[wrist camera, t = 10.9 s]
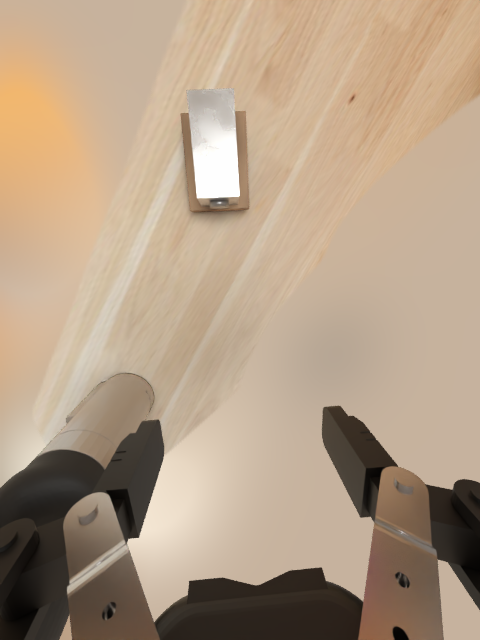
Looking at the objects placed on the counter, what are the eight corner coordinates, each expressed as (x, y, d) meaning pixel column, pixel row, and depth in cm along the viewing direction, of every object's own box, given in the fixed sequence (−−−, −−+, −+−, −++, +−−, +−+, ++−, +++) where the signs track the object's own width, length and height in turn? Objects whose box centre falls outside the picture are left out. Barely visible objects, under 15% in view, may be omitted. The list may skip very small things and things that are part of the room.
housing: (193, 113, 30) (185, 82, 24) (232, 111, 30) (233, 81, 25) (202, 211, 33) (197, 204, 27) (237, 209, 33) (239, 201, 28)
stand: (194, 214, 36) (190, 210, 33) (186, 129, 33) (180, 113, 30) (246, 212, 37) (249, 207, 33) (243, 127, 34) (245, 111, 30)
